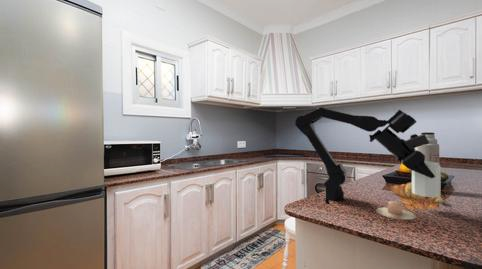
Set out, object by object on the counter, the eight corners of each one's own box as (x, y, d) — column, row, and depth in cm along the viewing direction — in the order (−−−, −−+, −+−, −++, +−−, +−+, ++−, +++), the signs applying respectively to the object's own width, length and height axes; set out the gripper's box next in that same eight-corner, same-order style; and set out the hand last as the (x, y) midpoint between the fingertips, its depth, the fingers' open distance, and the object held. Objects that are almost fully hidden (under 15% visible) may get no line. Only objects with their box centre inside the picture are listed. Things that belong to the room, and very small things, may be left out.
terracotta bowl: (390, 214, 73) (390, 203, 73) (386, 210, 77) (386, 200, 77) (404, 215, 72) (404, 204, 72) (399, 211, 76) (399, 201, 76)
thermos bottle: (444, 193, 101) (443, 132, 101) (424, 193, 102) (423, 132, 102) (432, 189, 109) (431, 132, 109) (414, 188, 110) (413, 132, 110)
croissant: (448, 213, 86) (454, 194, 87) (433, 204, 83) (440, 184, 84) (394, 198, 106) (400, 182, 107) (381, 190, 103) (387, 174, 104)
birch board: (381, 221, 71) (381, 217, 71) (372, 209, 81) (372, 206, 81) (422, 224, 67) (422, 220, 67) (407, 212, 78) (407, 209, 78)
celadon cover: (417, 196, 74) (417, 163, 74) (409, 190, 81) (409, 160, 81) (443, 198, 72) (444, 164, 72) (433, 192, 78) (433, 161, 78)
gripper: (416, 125, 70) (463, 163, 64) (407, 127, 86) (444, 156, 81) (386, 149, 74) (429, 186, 68) (383, 146, 90) (417, 176, 85)
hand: (430, 175), depth 75 cm, fingers closed on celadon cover, 7 cm apart
